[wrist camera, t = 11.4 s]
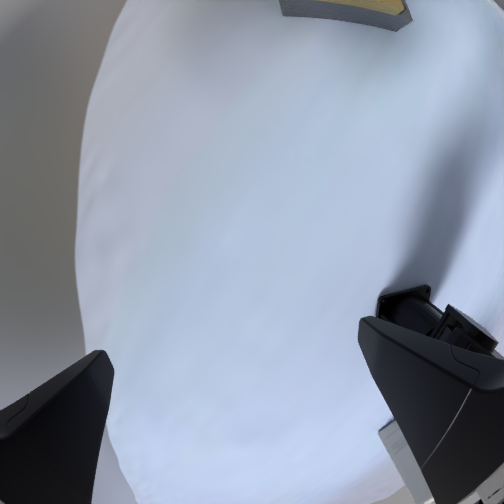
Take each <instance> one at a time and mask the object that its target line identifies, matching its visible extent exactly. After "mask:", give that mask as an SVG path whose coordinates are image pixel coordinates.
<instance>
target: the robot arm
mask: <svg viewBox="0 0 504 504" xmlns="http://www.w3.org/2000/svg"><path fill="white" fill-rule="evenodd" d="M430 292H431V287H430V286H428V285H424V286H420V287H416V288H412V289H409V290H405V291H401V292H397V293H393V294H388V295H384V296H381V297H380V298H379V299H378V304H377V314H376V317H373V316H367V317H363V318H361V319H360V321H359V330H358V343H359V346H360V348H361V350H362V353H363V355H364V358H365V360H366V363H367V365H368V368H369V370H370V372H371V375H372V377H373V379H374V381H375V383H376V385H377V386H378V388H379V390H380V392H381V394H382V396H383V397H384V399H385V401H386V403H387V405H388V407H389V409H390V410H391V412H392V414H393V416H394V418H395V420H396V422H397V424H398V426H399V428H400V430H401V432H402V434H403V436H404V437H405V439H406V441H407V443H408V445H409V447H410V449H411V451H412V453H413V456H414V458H415V460H416V462H417V464H418V466H419V468H420V470H421V472H422V475H423V477H424V479H425V481H426V483H427V485H428V487H429V490H430V492H431V494H432V496H433V498H434V501H435V503H436V504H459V503H461V502H462V501H464V500H465V499H466V498H468V497H469V496H471V495H472V494H473V493H474V492H476V491H477V493H478V495H479V496H480V498H481V499H480V500H479V501H477V502H476V503H474V504H504V357H503V356H502V355H501V354H499V353H498V352H497V351H496V350H495V348H496V346H497V344H498V343H499V342H498V341H497V340H496V339H495V338H494V337H493V336H492V335H491V334H490V333H489V332H488V331H487V330H486V329H485V328H484V327H482V326H481V325H480V324H478V323H477V322H476V321H474V320H473V319H472V318H470V317H469V316H467V315H466V314H464V313H463V312H461V311H459V310H458V309H456V308H454V307H453V306H451V305H449V304H448V305H447V307H446V308H445V312H442V311H441V310H440V309H438V308H437V307H436V306H435V305H433V304H432V303H431V302H430V301H429V298H430ZM383 300H384V302H383V303H382V301H383ZM113 379H114V368H113V365H112V363H111V361H110V359H109V357H108V355H107V353H106V351H104V350H94V351H93V352H91V353H90V354H88V355H86V356H85V357H83V358H82V359H80V360H79V361H77V362H76V363H74V364H73V365H71V366H70V367H68V368H67V369H65V370H63V371H62V372H61V373H59V374H57V375H56V376H54V377H53V378H51V379H50V380H48V381H47V382H45V383H44V384H42V385H41V386H39V387H37V388H36V389H34V390H33V391H31V392H30V394H27V395H25V396H24V397H22V398H21V399H19V400H17V401H16V402H14V403H13V404H11V405H9V406H7V407H6V408H4V409H2V410H0V504H91V502H92V494H93V487H94V480H95V474H96V468H97V462H98V456H99V451H100V446H101V442H102V437H103V432H104V428H105V423H106V419H107V415H108V411H109V406H110V399H111V392H112V385H113Z"/></svg>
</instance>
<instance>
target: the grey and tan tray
mask: <svg viewBox="0 0 504 504" xmlns="http://www.w3.org/2000/svg"><path fill="white" fill-rule="evenodd" d="M279 1H280V6H281V10H282V15H283V16H296V17H312V18H324V19H333V20H340V21H347V22H354V23H360V24H365V25H370V26H375V27H380V28H384V29H388V30H392V31H398V30H399V29H401V28H402V27H404V26H405V25H407V24H409V23H410V22H412V21H413V20H412V17H411V14H410V12H409V9H408V7H407V4H406V2H405V0H279Z"/></svg>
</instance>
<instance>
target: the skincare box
mask: <svg viewBox="0 0 504 504" xmlns="http://www.w3.org/2000/svg"><path fill="white" fill-rule="evenodd" d="M378 435H379V437H380V439H381V441H382V443H383V445H384V446H385V448H386V450H387V452H388V454H389V455H390V457H391V459H392V461H393V463H394V465H395V467H396V469H397V470H398V472H399V474H400V476H401V478H402V480H403V482H404V484H405V485H406V487H407V489H408V491H409V493H410V495H411V497H412V499H413V501H414V503H415V504H430V503H431V502H433V501H434V498H433V496H432V494H431V492H430V490H429V487H428V485H427V483H426V481H425V479H424V477H423V475H422V472H421V470H420V468H419V466H418V464H417V462H416V460H415V458H414V456H413V453H412V451H411V449H410V447H409V445H408V443H407V441H406V439H405V437H404V436H403V434H402V432H401V430H400V428H399V426H398V424H397V422H396V420H394V421H393V422H392V423H390V424H389V425H388V426H386V427H385V428H383V429H382V430H381V431H379V432H378Z"/></svg>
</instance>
